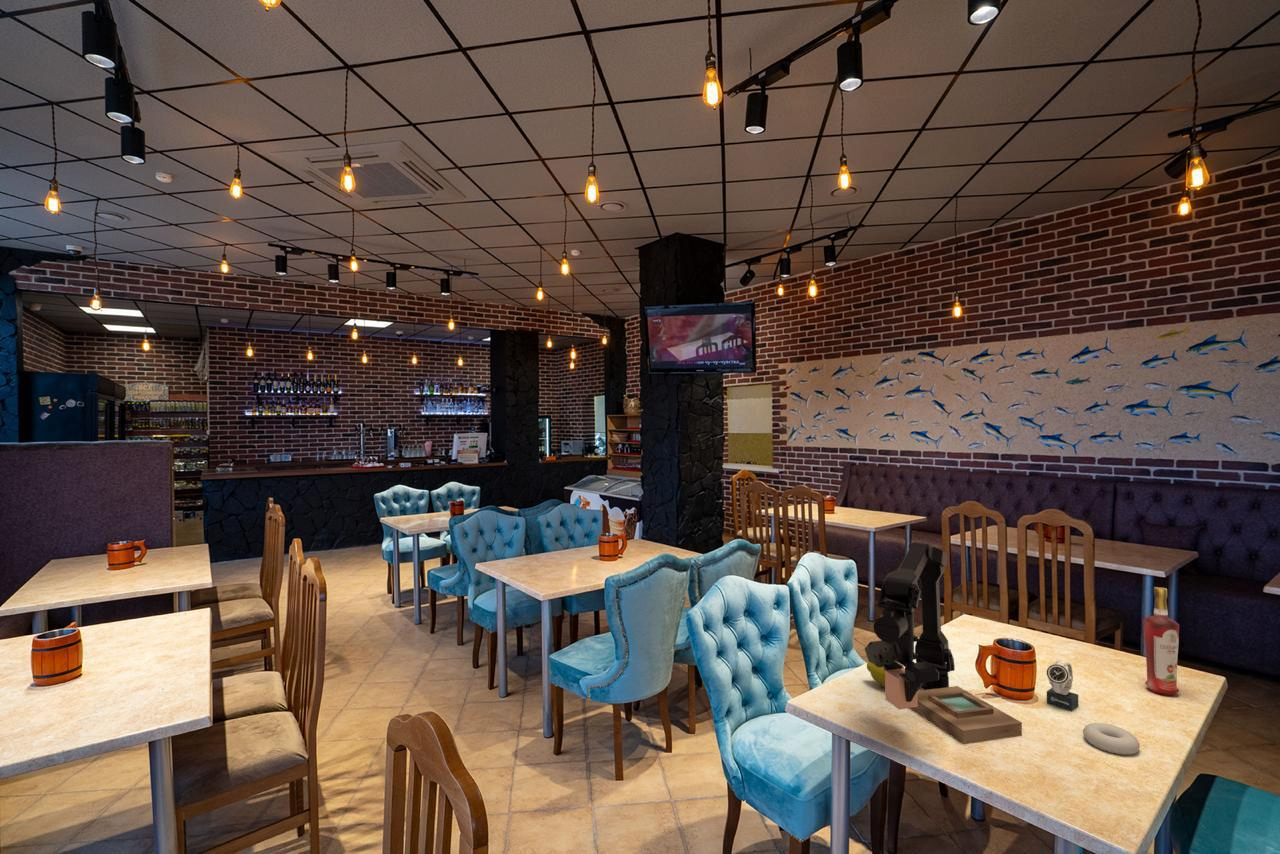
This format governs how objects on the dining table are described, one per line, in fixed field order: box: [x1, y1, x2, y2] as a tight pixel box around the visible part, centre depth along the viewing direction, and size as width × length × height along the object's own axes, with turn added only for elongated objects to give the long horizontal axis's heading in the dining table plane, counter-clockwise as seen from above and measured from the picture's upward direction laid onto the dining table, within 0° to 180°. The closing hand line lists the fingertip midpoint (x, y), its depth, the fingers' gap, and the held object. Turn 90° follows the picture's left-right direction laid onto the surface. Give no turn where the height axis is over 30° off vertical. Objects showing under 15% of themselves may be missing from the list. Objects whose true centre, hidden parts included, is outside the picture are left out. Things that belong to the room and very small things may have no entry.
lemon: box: [866, 661, 905, 688], centre depth 162 cm, size 11×8×8 cm
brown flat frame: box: [911, 685, 1023, 744], centre depth 144 cm, size 20×16×4 cm
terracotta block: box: [884, 668, 919, 710], centre depth 138 cm, size 5×5×7 cm
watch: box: [1046, 660, 1079, 712], centre depth 151 cm, size 6×8×11 cm
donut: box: [1082, 722, 1141, 756], centre depth 132 cm, size 10×4×10 cm
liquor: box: [1142, 586, 1180, 696], centre depth 158 cm, size 7×7×28 cm
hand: (901, 696), depth 138 cm, fingers closed on terracotta block, 5 cm apart
